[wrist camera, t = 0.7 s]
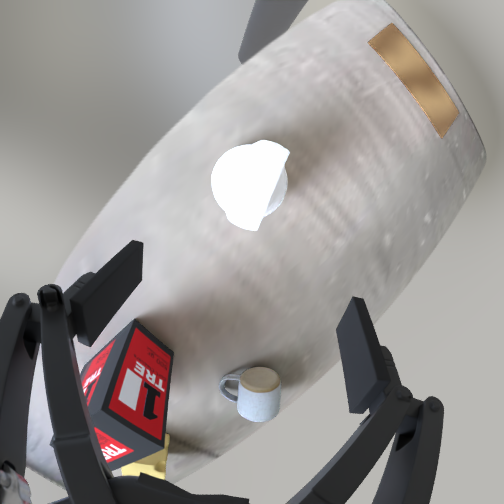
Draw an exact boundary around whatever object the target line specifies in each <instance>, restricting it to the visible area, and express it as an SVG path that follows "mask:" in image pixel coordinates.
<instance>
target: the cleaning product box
mask: <svg viewBox="0 0 504 504" xmlns="http://www.w3.org/2000/svg"><path fill="white" fill-rule="evenodd" d="M173 357H174V352H173V351H171V350H170V349H169V348H168V347H166V346H165V345H164V344H163V343H162V342H160V341H159V340H158V339H157V338H156V337H155V336H153V335H152V334H151V333H150V332H149V331H148V330H147V329H145V328H144V327H143V326H142V325H141V324H140V323H139V322H138V321H137V320H135V319H134V320H133V321H131V322H130V323H129V324H128V325H127V326H126V327H125V328H124V329H123V330H122V331H121V332H120V333H118V334H117V335H116V336H115V337H114V338H113V339H112V340H111V341H110V342H109V343H108V344H107V345H106V346H104V347H103V348H102V349H101V350H100V351H99V352H98V353H97V354H96V355H95V356H94V357H93V358H92V359H91V360H90V361H89V362H88V363H87V364H85V365H84V367H83V369H82V371H81V374H80V378H81V382H82V387H83V391H84V395H85V398H86V402H87V406H88V409H89V413H90V416H91V420H92V423H93V426H94V429H95V432H96V435H97V438H98V441H99V444H100V447H101V449H102V452H103V455H104V457H105V459H106V462H107V464H108V466H109V468H110V470H111V471H113V470H116V469H118V468H121V467H123V466H126V465H128V464H131V463H133V462H136V461H138V460H140V459H143V458H145V457H147V456H150V455H152V454H154V453H156V452H158V451H160V450H163V449H164V448H165V434H166V422H167V411H168V400H169V391H170V381H171V373H172V365H173ZM54 439H55V437H54V435H53V437H52V440H51V442H50V446H52V447H53V440H54Z"/></svg>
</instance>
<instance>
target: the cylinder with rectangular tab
mask: <svg viewBox="0 0 504 504" xmlns="http://www.w3.org/2000/svg"><path fill="white" fill-rule="evenodd" d="M289 153H290V152H289V151H288V150H287V149H286V148H284V147H282V146H281V145H279V144H277V143H274V142H271V141H267V140H260V141H258V142H256V143H254V144H252V145H242V146H238V147H235V148H233V149H231V150H230V151H228V152H226V153H225V154H224V155H223V156H222V157H221V158H220V159H219V160H218V161H217V163H216V165H215V167H214V168H213V172H212V176H211V182H212V190H213V193H214V196H215V199H216V200H217V202H218V204H219V205H220V207H222V208H223V209H224V210H225V212H226V214H227V217H228V220H229V221H230V222H231V223H233V224H235V225H237V226H239V227H241V228H243V229H248V230H252V231H257V230H258V227H259V225H260V222H261V220H262V218H263V217H265V216H267V215H268V214H270V213H272V212H273V211H274V210H275V209H276V208H277V207H278V206H279V205H280V204H281V202H282V200H283V199H284V197H285V194H286V190H287V173H286V170H285V167H284V165H285V162H286V160H287V157H288V155H289Z"/></svg>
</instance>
